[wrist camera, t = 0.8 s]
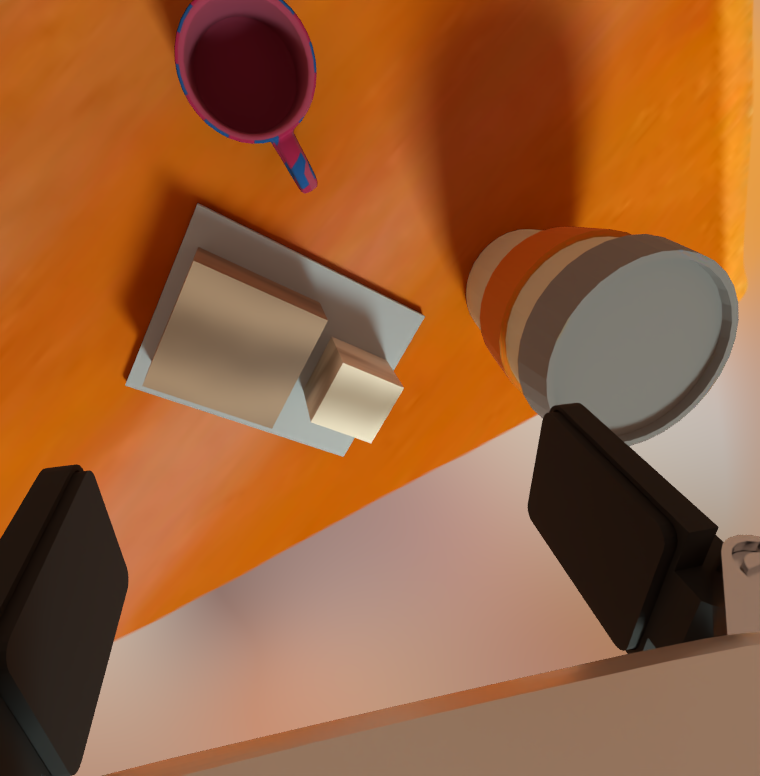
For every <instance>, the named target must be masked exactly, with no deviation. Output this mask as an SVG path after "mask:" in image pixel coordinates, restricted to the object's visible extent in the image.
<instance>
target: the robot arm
mask: <svg viewBox="0 0 760 776" xmlns="http://www.w3.org/2000/svg"><path fill="white" fill-rule="evenodd" d="M528 512H529V516H530V519H531V520H532V522H533V524H534V525H535V526H536V528H537V530H538V531H539V532H540V534H541V536H542V537H543V539H544V540H545V541H546V543H547V544H548V546H549V547H550V549H551V550H552V552H553V553H554V555H555V556H556V558H557V559H558V561H559V562H560V564H561V565H562V567H563V568H564V570H565V571H566V573H567V574H568V576H569V577H570V579H571V580H572V582H573V583H574V585H575V586H576V588H577V589H578V591H579V592H580V594H581V595H582V596H583V598H584V600H585V601H586V603H587V604H588V605H589V607H590V608H591V610H592V611H593V613H594V614H595V616H596V617H597V619H598V620H599V622H600V623H601V625H602V626H603V628H604V629H605V631H606V632H607V634H608V635H609V637H610V638H611V640H612V641H613V643H614V644H615V645H616V646H617V647H618V648H619V649H620V650H623V651H624V650H626V652H627V653H628V654H626V655H622V656H618V657H613V658H609V659H604V660H599V661H595V662H590V663H586V664H581V665H577V666H572V667H568V668H563V669H559V670H554V671H550V672H545V673H541V674H536V675H532V676H527V677H523V678H518V679H514V680H509V681H504V682H500V683H496V684H491V685H487V686H483V687H478V688H474V689H469V690H465V691H460V692H456V693H452V694H447V695H443V696H438V697H434V698H430V699H425V700H421V701H417V702H412V703H408V704H404V705H399V706H394V707H390V708H386V709H382V710H377V711H373V712H369V713H364V714H360V715H356V716H351V717H346V718H342V719H338V720H333V721H329V722H325V723H320V724H316V725H312V726H308V727H304V728H299V729H295V730H290V731H287V732H282V733H278V734H273V735H269V736H265V737H260V738H256V739H252V740H248V741H244V742H239V743H235V744H231V745H226V746H222V747H218V748H213V749H209V750H206V751H200V752H197V753H192V754H188V755H184V756H180V757H175V758H171V759H167V760H163V761H159V762H155V763H151V764H147V765H143V766H139V767H135V768H131V769H127V770H123V771H119V772H115V773H111V774H107V775H103V776H760V537H758V536H753V535H737V536H733V537H730V538H728V539H727V540H726V541H725V542H723V541H722V540H721V539H719V538H718V537H717V536H716V535H715V534H716V532H717V530H718V526H717V525H716V524H714V523H713V522H712V521H711V520H710V519H709V518H708V517H707V516H706V515H704V514H703V513H702V512H701V511H700V510H699V509H698V508H697V507H696V506H695V505H693V504H692V503H691V502H690V501H689V500H688V499H687V498H686V497H685V496H683V495H682V494H681V493H680V492H679V491H678V490H677V489H676V488H675V487H673V486H672V485H671V484H670V483H669V482H668V481H667V480H666V479H665V478H663V477H662V476H661V475H660V474H659V473H658V472H657V471H656V470H654V469H653V468H652V467H651V466H650V465H649V464H648V463H647V462H646V461H644V460H643V459H642V458H641V457H640V456H639V455H638V454H637V453H636V452H635V451H633V450H632V449H631V448H630V447H629V446H628V445H627V444H626V443H625V442H624V441H622V440H621V439H620V438H619V437H618V436H617V435H616V434H615V433H614V432H612V431H611V430H610V429H609V428H608V427H607V426H606V425H605V424H604V423H602V422H601V421H600V420H599V419H598V418H597V417H596V416H595V415H594V414H592V413H591V412H590V411H589V410H588V409H587V408H586V407H585V406H584V405H582V404H581V403H569V404H561V405H554V406H553V407H552V408H551V409H550V411H549V413H546V414H545V415H544V417H543V421H542V427H541V433H540V439H539V444H538V449H537V455H536V461H535V467H534V472H533V478H532V483H531V489H530V495H529V501H528ZM127 588H128V571H127V567H126V564H125V561H124V558H123V556H122V553H121V550H120V547H119V544H118V541H117V538H116V536H115V533H114V530H113V527H112V524H111V521H110V519H109V516H108V513H107V510H106V507H105V504H104V501H103V499H102V496H101V493H100V490H99V487H98V484H97V482H96V479H95V476H94V474H93V473H92V471H83V469H82V468H81V466H80V465H69V466H61V467H53V468H45V469H43V470H42V471H41V472H40V473H39V475H38V477H37V478H36V480H35V482H34V483H33V485H32V487H31V488H30V490H29V492H28V493H27V495H26V497H25V498H24V500H23V502H22V504H21V505H20V507H19V509H18V510H17V512H16V514H15V515H14V517H13V519H12V520H11V522H10V524H9V525H8V527H7V529H6V530H5V532H4V534H3V536H2V537H1V539H0V776H72V775H75V774H76V772H77V771H78V769H79V767H80V764H81V761H82V758H83V754H84V750H85V746H86V743H87V739H88V735H89V731H90V727H91V724H92V720H93V716H94V712H95V708H96V705H97V701H98V697H99V694H100V690H101V686H102V682H103V678H104V675H105V671H106V667H107V664H108V660H109V656H110V652H111V649H112V645H113V641H114V637H115V634H116V630H117V626H118V622H119V619H120V615H121V611H122V607H123V604H124V600H125V596H126V592H127Z"/></svg>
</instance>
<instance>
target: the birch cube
mask: <svg viewBox="0 0 760 776" xmlns="http://www.w3.org/2000/svg"><path fill="white" fill-rule="evenodd" d="M403 389H404V387H403V386H402V384H401V382H400V381H399V379H398V378H397V376H396V374H395V373H394V371H393V370H392V368H391V366H390V365H389V363H388V362H387V360H385V359H383V358H380V357H378V356H376V355H373V354H371V353H369V352H366V351H364V350H362V349H360V348H357V347H355V346H353V345H350V344H348V343H346V342H343V341H341V340H339V339H336V338H334V337H331V338H330V340H329V342H328V344H327V346H326V348H325V350H324V352H323V354H322V356H321V357H320V359H319V361H318V363H317V365H316V367H315V369H314V371H313V373H312V375H311V377H310V378H309V380H308V382H307V384H306V386H305V388H304V390H303V392H304V396H305V400H306V404H307V408H308V412H309V417H310V421H311V423H314V424H317V425H320V426H323V427H326V428H329V429H332V430H334V431H337V432H340V433H343V434H346V435H349V436H352V437H355V438H357V439H360V440H363V441H366V442H369V443H372V441H373V439H374V438H375V436H376V434H377V432H378V431H379V429H380V427H381V426H382V424H383V422H384V421H385V419H386V417H387V416H388V414H389V412H390V411H391V409H392V407H393V406H394V404H395V402H396V401H397V399H398V397H399V396H400V394H401V392H402V390H403Z"/></svg>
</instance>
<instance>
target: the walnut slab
mask: <svg viewBox="0 0 760 776" xmlns="http://www.w3.org/2000/svg"><path fill="white" fill-rule="evenodd" d="M327 322H328V320H327V317H326V315H325V313H324V311H323V309H322V306H321V304H320V303H319V302H317V301H315V300H313V299H311V298H309V297H306V296H304V295H302V294H300V293H298V292H296V291H293V290H291V289H289V288H287V287H285V286H283V285H280V284H278V283H276V282H274V281H272V280H269V279H267V278H265V277H263V276H261V275H259V274H256V273H254V272H252V271H250V270H248V269H246V268H243V267H241V266H239V265H237V264H235V263H232V262H230V261H228V260H226V259H224V258H222V257H219V256H217V255H215V254H213V253H211V252H209V251H206V250H204V249H202V248H200V247H198V249H197V251H196V254H195V256H194V259H193V261H192V263H191V266H190V268H189V271H188V273H187V276H186V278H185V281H184V283H183V285H182V288H181V290H180V293H179V295H178V298H177V300H176V303H175V305H174V307H173V310H172V312H171V315H170V317H169V320H168V322H167V325H166V327H165V329H164V332H163V334H162V337H161V339H160V342H159V344H158V347H157V349H156V351H155V354H154V356H153V359H152V361H151V364H150V367H149V369H148V372H147V375H146V377H145V380H144V383H143V385H142V386H144V387H147V388H150V389H153V390H156V391H159V392H162V393H165V394H168V395H171V396H174V397H177V398H180V399H183V400H186V401H189V402H192V403H195V404H198V405H201V406H204V407H207V408H210V409H213V410H216V411H219V412H222V413H225V414H228V415H231V416H234V417H237V418H240V419H243V420H246V421H249V422H252V423H255V424H258V425H261V426H265V427H268V428H271V429H272V428H273V426H274V424H275V422H276V420H277V418H278V416H279V414H280V412H281V411H282V409H283V407H284V405H285V403H286V401H287V399H288V397H289V395H290V393H291V391H292V389H293V387H294V385H295V383H296V382H297V380H298V378H299V376H300V374H301V372H302V370H303V368H304V366H305V364H306V362H307V360H308V358H309V356H310V354H311V353H312V351H313V349H314V347H315V345H316V343H317V341H318V339H319V337H320V335H321V333H322V331H323V329H324V327H325V325H326V324H327Z"/></svg>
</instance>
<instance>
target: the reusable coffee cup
mask: <svg viewBox="0 0 760 776" xmlns="http://www.w3.org/2000/svg"><path fill="white" fill-rule="evenodd" d="M466 300H467V306H468V309H469V312H470V315H471V316H472V318H473V320H474V321H475V323H476V324H477V326H478V327H479V328H480V330H481V333H482V336H483V339H484V342H485V344H486V346H487V348H488V349H489V351H490V353H491V354H492V356H493V357H494V358H495V360H496V361H497V363H498V364H499V366H500V367H501V368H502V370H503V371H504V373H505V374H506V375H507V377H508V378H509V380H510V381H511V382H512V384H513V385H514V386H515V387H516V388H517V389H518V390H519V391H520V392H521V393H522V394H524V396H525V398H526V399H527V401H528V403H529V404H530V406H531V408H532V409H533V410H534V411H535V412H537V413H538V414H539V415H540V416H541V417H542V418H543V417H544V415H545V414H546V413H549V411H550V409H551V408H552V407H553V406H554V405H561V404H569V403H581V404H582V405H584V406H585V407H586V408H587V409H588V410H589V411H590V412H591V413H592V414H594V415H595V416H596V417H597V418H598V419H599V420H600V421H601V422H602V423H604V424H605V425H606V426H607V427H608V428H609V429H610V430H611V431H612V432H614V433H615V434H616V435H617V436H618V437H619V438H620V439H621V440H622V441H624V442H625V443H626V444H627V445H628V446H631V445H634V444H637V443H640V442H643V441H646V440H648V439H650V438H652V437H654V436H656V435H658V434H660V433H662V432H664V431H665V430H667V429H668V428H670V427H671V426H672V425H674V424H675V423H677V422H678V421H680V420H681V419H682V418H683V417H684V416H686V415H687V414H688V413H689V412H690V411H691V410H692V409H693V408H695V407H696V405H697V404H698V403H699V402H700V401H701V400H702V399H703V397H704V396H705V395H706V394H707V393H708V392H709V390H710V389H711V387H712V386H713V384H714V383H715V382H716V380H717V379H718V377H719V376H720V374H721V372H722V370H723V368H724V366H725V364H726V362H727V360H728V358H729V356H730V353H731V350H732V347H733V344H734V341H735V337H736V332H737V331H736V330H737V326H738V300H737V296H736V292H735V288H734V285H733V283H732V282H731V280H730V278H729V276H728V274H727V273H726V271H725V270H724V269H723V268H722V267H720V266H719V265H718V264H717V263H716V262H715V261H714V260H712V259H710V258H708V257H706V256H704V255H702V254H700V253H698V252H696V251H693V250H691V249H689V248H687V247H684V246H682V245H680V244H678V243H675V242H673V241H671V240H668V239H666V238H664V237H659V236H653V235H648V234H640V235H631V234H629V233H627V232H622V231H616V230H611V229H597V228H584V227H570V226H568V227H554V228H550V229H547V230H534V229H521V230H516V231H512V232H508V233H506V234H504V235H502V236H500V237H498V238H497V239H496V240H494V241H493V242H492V243H490V244H489V245H488V246H487V247H486V248H485V249H484V250H483V251H482V252H481V254H480V255H479V257H478V258H477V260H476V261H475V262H474V265H473V267H472V269H471V271H470V273H469V277H468V281H467V287H466Z"/></svg>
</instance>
